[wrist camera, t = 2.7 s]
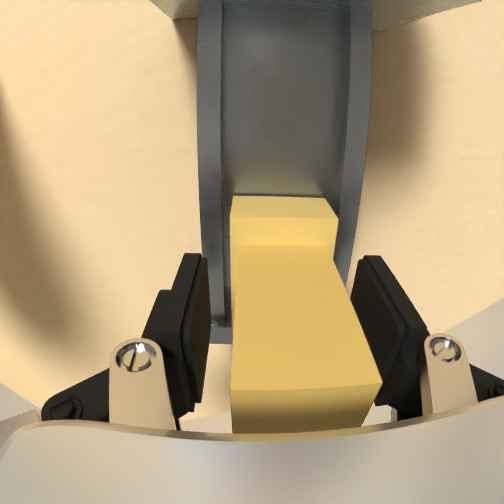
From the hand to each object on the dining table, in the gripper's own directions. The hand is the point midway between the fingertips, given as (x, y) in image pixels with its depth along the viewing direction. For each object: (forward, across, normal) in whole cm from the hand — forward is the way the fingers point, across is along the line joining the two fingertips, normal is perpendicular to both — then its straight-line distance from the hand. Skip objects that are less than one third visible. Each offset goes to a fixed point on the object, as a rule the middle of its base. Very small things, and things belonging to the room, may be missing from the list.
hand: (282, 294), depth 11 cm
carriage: (+3, 0, 0) cm, 3 cm away
